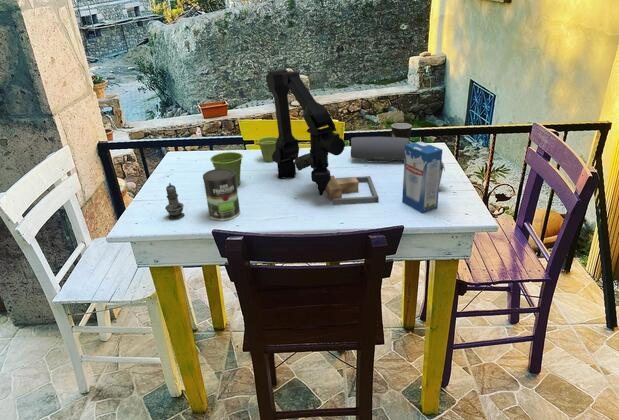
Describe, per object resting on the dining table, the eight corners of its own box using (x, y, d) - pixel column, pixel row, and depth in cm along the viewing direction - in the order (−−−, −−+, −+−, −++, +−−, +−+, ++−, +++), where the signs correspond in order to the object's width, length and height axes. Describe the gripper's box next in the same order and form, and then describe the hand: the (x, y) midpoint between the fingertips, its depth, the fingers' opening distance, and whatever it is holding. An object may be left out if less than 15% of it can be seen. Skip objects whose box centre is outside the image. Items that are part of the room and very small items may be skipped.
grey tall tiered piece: (169, 212, 152) (162, 179, 147) (186, 211, 152) (180, 178, 147) (165, 221, 147) (158, 187, 141) (184, 219, 147) (177, 185, 142)
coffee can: (244, 216, 147) (239, 176, 141) (213, 223, 144) (206, 183, 137) (235, 204, 156) (230, 165, 149) (206, 210, 152) (199, 171, 146)
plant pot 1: (252, 184, 170) (249, 155, 165) (227, 194, 163) (223, 165, 158) (233, 176, 178) (229, 149, 173) (208, 186, 170) (203, 158, 165)
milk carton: (402, 202, 151) (405, 144, 142) (416, 197, 154) (420, 141, 145) (422, 213, 143) (427, 153, 134) (437, 208, 146) (442, 149, 137)
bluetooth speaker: (407, 157, 188) (408, 133, 183) (407, 165, 180) (409, 141, 175) (352, 156, 192) (352, 133, 187) (350, 164, 184) (350, 140, 179)
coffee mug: (410, 151, 193) (411, 128, 189) (390, 151, 195) (390, 128, 191) (410, 142, 203) (412, 121, 199) (391, 142, 205) (392, 120, 201)
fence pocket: (333, 204, 152) (333, 200, 151) (329, 182, 168) (329, 178, 167) (378, 202, 152) (378, 197, 151) (370, 180, 168) (370, 176, 167)
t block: (330, 200, 155) (330, 190, 153) (323, 186, 165) (322, 176, 163) (361, 197, 156) (361, 186, 154) (352, 183, 167) (352, 173, 165)
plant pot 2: (257, 157, 195) (255, 138, 191) (278, 154, 198) (277, 135, 194) (261, 165, 187) (259, 145, 183) (283, 161, 190) (282, 141, 186)
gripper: (295, 139, 160) (297, 180, 167) (295, 158, 144) (297, 202, 151) (326, 138, 160) (327, 178, 167) (330, 156, 144) (331, 200, 151)
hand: (320, 189), depth 159 cm, fingers open, 9 cm apart
